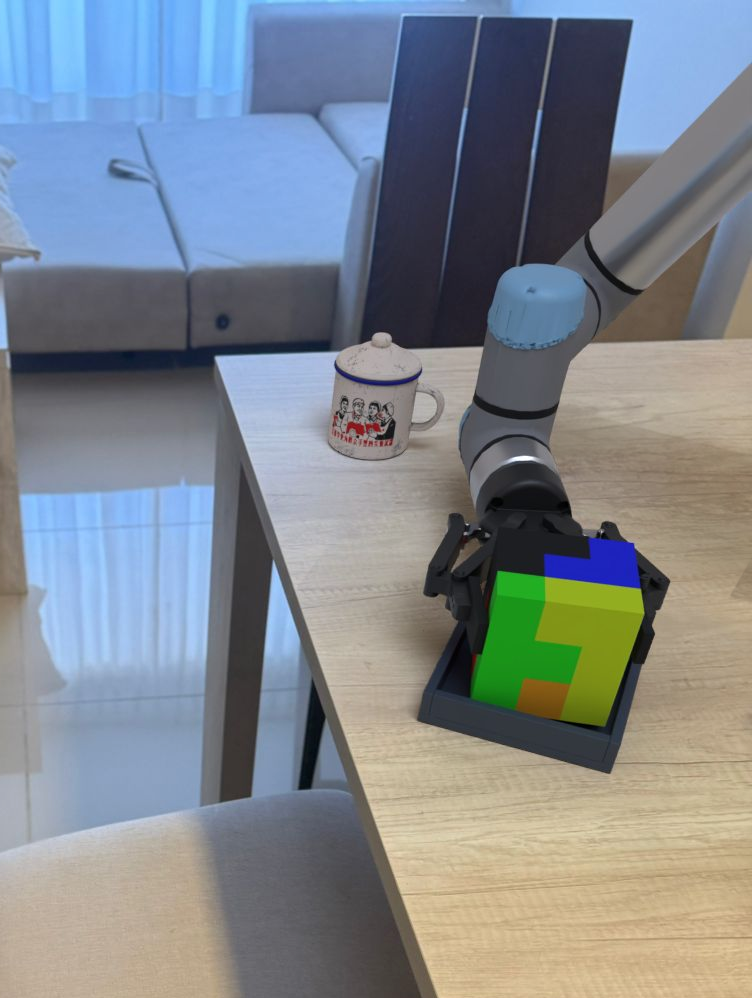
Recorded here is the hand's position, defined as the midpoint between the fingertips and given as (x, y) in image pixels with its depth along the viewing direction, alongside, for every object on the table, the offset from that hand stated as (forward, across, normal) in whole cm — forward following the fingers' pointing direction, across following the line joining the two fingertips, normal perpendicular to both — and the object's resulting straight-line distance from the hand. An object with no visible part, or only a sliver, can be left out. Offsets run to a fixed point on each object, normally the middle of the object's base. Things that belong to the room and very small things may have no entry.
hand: (562, 644), depth 84 cm
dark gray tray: (-4, 0, -8) cm, 8 cm away
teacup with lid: (-48, +10, -8) cm, 49 cm away
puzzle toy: (-4, 0, -6) cm, 7 cm away
